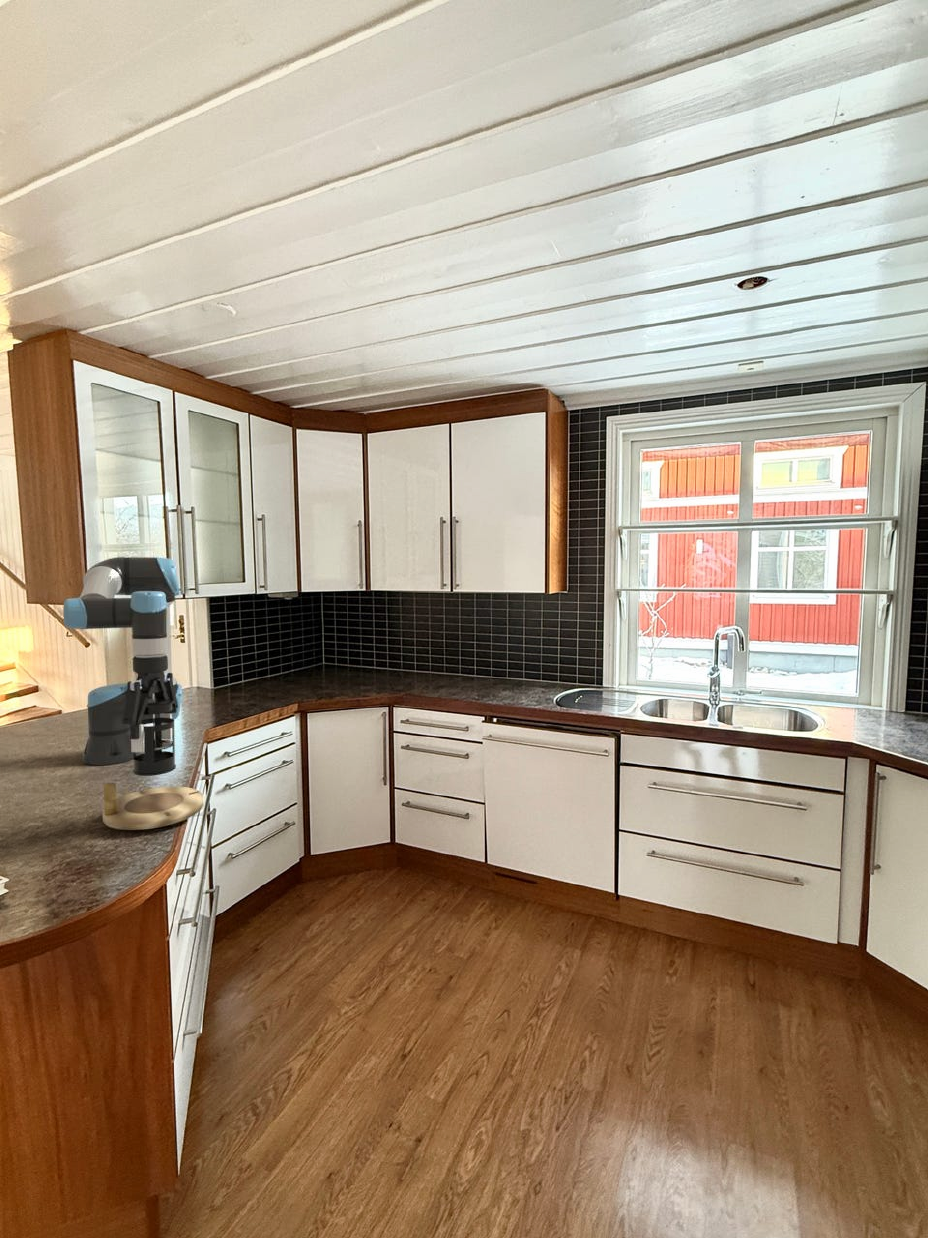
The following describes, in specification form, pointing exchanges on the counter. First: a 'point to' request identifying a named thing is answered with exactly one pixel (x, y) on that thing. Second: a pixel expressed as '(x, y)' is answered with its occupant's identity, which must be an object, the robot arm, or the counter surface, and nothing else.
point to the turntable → (150, 807)
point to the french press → (156, 741)
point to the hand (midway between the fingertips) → (152, 745)
